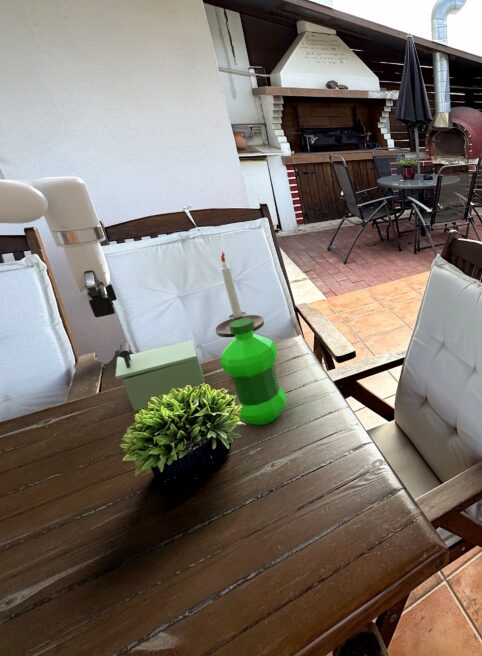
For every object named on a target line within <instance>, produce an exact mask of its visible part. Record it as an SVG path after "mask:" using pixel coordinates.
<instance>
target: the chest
mask: <svg viewBox="0 0 482 656" xmlns="http://www.w3.org/2000/svg"><path fill="white" fill-rule="evenodd" d="M194 347H195V351H196V355H197V359H194V360H190V361H186V362H182V363H178V364H174V365H170V366H167V367H163V368H159V369H155V370H151V371H147V372H143V373H139V374H135V375H131V376H128V377H124V378H121V379H122V380H121V381H122V384H123V387H124V388H125V391H126V395H127V396H128V399H129V401H130V404H131V406H132V409H133V411H134V412H137V411H140V409H141V408H144V407H146V406H147V405H148V402H149V400H150V398H151V397H154V396H159V395H161V394H168V393H169V392H170V390H171V389H172V388H183V387H185V386H186V385H191V386H198V385H200V384H203V383H205V384H206V380H205V376H204V371H203V369H202V368H203V367H202V364H201V362H200V359H199V355H198V353H197V349H196V346H195V345H194ZM144 409H145V408H144ZM141 410H142V409H141Z"/></svg>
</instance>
